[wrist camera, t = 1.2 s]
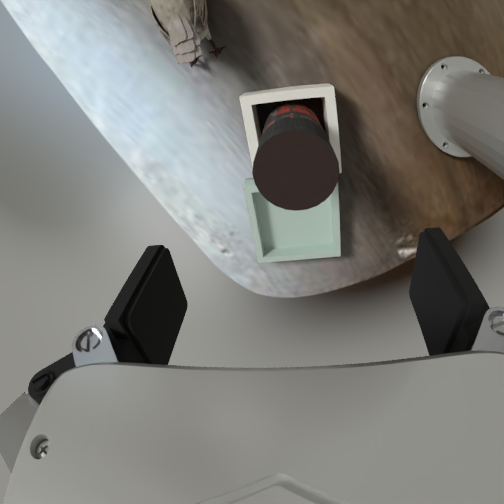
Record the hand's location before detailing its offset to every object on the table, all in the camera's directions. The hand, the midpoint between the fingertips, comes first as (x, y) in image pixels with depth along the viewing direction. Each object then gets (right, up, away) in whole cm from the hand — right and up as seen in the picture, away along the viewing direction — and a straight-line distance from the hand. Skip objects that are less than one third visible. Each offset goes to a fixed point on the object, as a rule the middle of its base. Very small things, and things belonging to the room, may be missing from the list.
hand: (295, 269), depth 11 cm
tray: (+4, +5, +28) cm, 29 cm away
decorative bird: (-9, +28, +15) cm, 33 cm away
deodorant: (+3, +15, +22) cm, 27 cm away
